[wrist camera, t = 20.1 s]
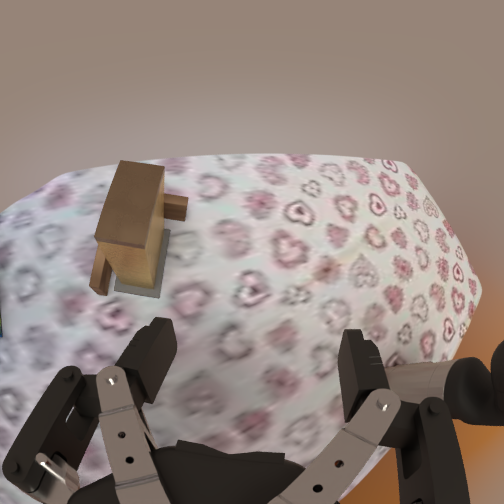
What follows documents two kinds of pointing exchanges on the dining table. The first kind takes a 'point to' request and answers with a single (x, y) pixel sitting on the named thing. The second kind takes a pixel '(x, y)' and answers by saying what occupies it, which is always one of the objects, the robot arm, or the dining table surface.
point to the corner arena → (101, 268)
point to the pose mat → (158, 281)
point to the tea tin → (133, 223)
